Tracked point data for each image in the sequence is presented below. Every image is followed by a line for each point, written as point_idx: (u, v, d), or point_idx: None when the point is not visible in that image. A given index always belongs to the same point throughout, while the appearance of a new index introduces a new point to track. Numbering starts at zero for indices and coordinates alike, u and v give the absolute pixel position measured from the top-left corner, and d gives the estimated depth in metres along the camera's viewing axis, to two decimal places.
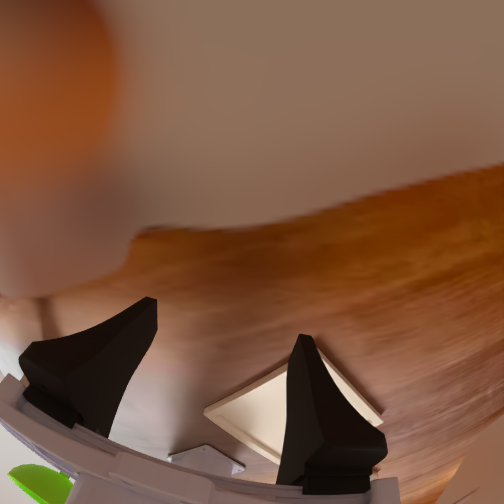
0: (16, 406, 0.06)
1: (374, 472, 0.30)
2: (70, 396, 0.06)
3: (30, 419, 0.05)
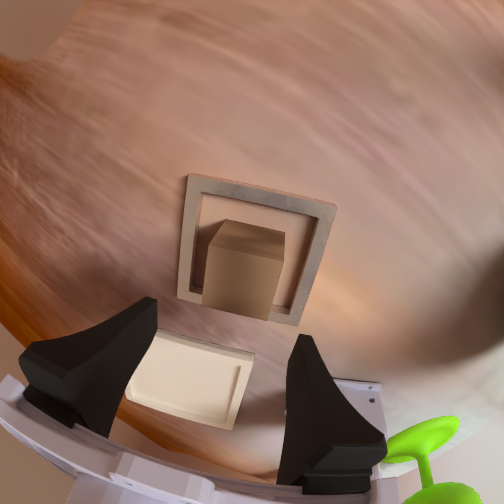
0: (16, 406, 0.06)
1: None
2: (70, 396, 0.06)
3: (30, 419, 0.05)
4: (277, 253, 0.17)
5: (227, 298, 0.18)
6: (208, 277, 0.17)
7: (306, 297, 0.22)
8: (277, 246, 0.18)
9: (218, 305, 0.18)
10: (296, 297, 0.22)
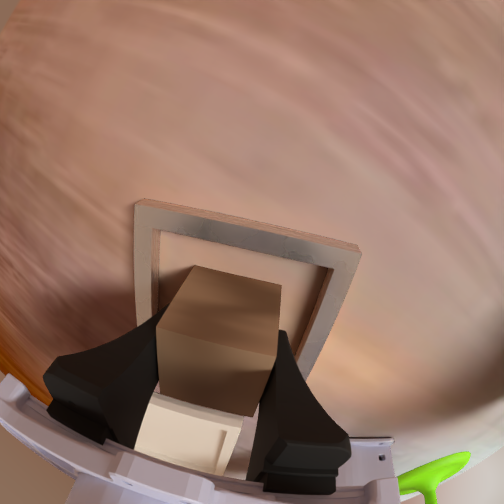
0: (16, 406, 0.06)
1: None
2: (105, 413, 0.06)
3: (30, 419, 0.05)
4: (267, 337, 0.10)
5: (194, 391, 0.11)
6: (163, 366, 0.11)
7: (310, 368, 0.15)
8: (268, 320, 0.11)
9: (183, 396, 0.11)
10: None
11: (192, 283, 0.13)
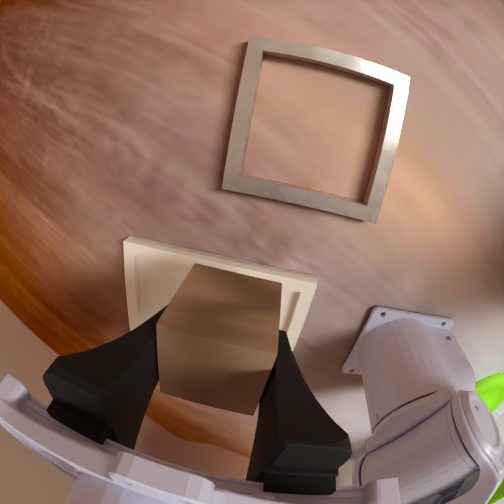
0: (16, 406, 0.06)
1: None
2: (104, 413, 0.06)
3: (30, 419, 0.05)
4: (268, 334, 0.10)
5: (194, 389, 0.11)
6: (163, 363, 0.11)
7: (386, 180, 0.16)
8: (269, 317, 0.11)
9: (183, 395, 0.11)
10: (375, 180, 0.16)
11: (192, 281, 0.13)
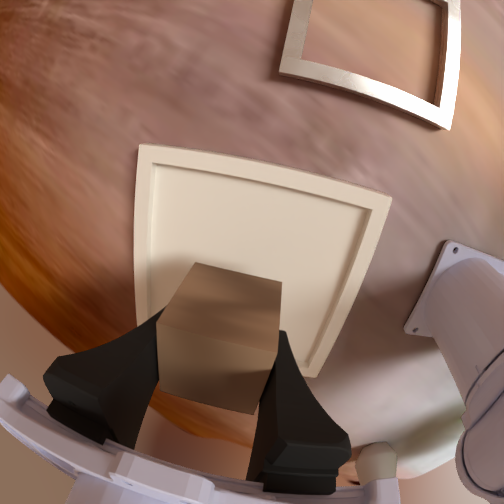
0: (16, 406, 0.06)
1: None
2: (104, 413, 0.06)
3: (30, 419, 0.05)
4: (268, 333, 0.10)
5: (194, 388, 0.11)
6: (163, 362, 0.11)
7: (455, 85, 0.11)
8: (269, 316, 0.11)
9: (183, 394, 0.11)
10: (445, 83, 0.11)
11: (193, 279, 0.13)
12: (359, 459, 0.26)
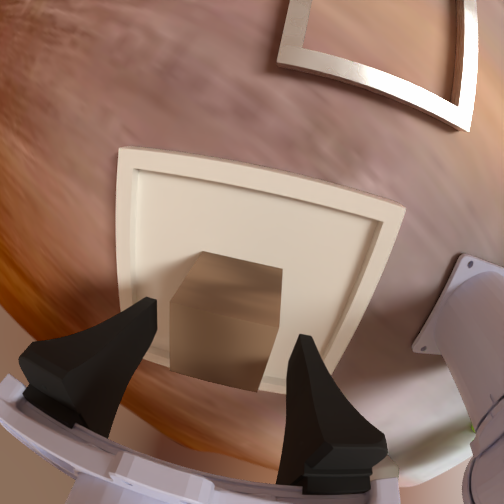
0: (16, 406, 0.06)
1: None
2: (70, 396, 0.06)
3: (30, 419, 0.05)
4: (270, 311, 0.12)
5: (202, 366, 0.12)
6: (174, 341, 0.12)
7: (474, 82, 0.09)
8: (271, 297, 0.13)
9: (191, 372, 0.13)
10: (463, 79, 0.09)
11: (201, 266, 0.14)
12: None
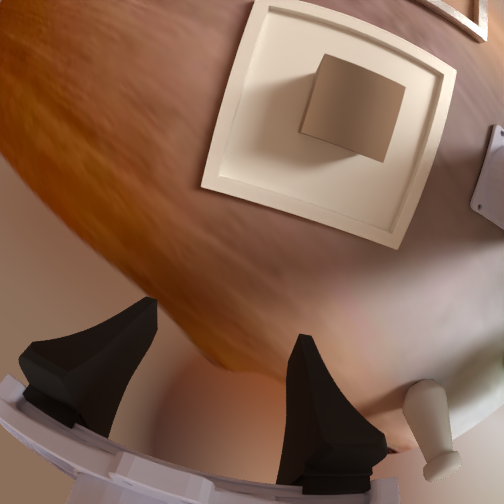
0: (16, 406, 0.06)
1: None
2: (70, 396, 0.06)
3: (30, 419, 0.05)
4: None
5: (339, 123, 0.12)
6: (318, 91, 0.12)
7: (486, 16, 0.09)
8: None
9: (325, 133, 0.13)
10: (480, 13, 0.09)
11: None
12: (409, 398, 0.25)
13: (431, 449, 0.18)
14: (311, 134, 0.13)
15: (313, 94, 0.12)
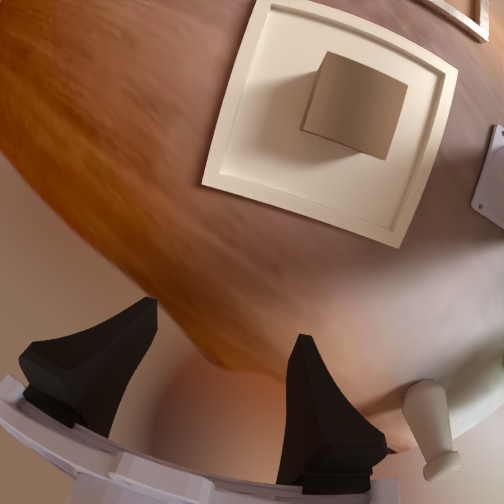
0: (16, 406, 0.06)
1: None
2: (70, 396, 0.06)
3: (30, 419, 0.05)
4: None
5: (341, 120, 0.12)
6: (321, 89, 0.12)
7: (487, 17, 0.09)
8: None
9: (327, 130, 0.12)
10: (481, 13, 0.09)
11: None
12: (409, 398, 0.25)
13: (431, 449, 0.18)
14: (313, 131, 0.13)
15: (316, 91, 0.12)
